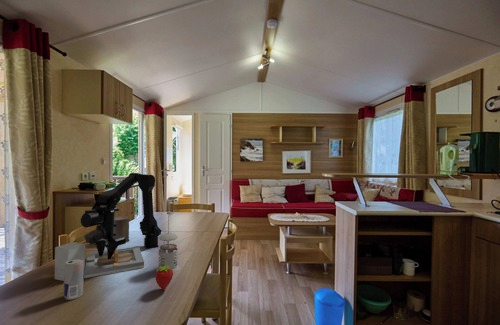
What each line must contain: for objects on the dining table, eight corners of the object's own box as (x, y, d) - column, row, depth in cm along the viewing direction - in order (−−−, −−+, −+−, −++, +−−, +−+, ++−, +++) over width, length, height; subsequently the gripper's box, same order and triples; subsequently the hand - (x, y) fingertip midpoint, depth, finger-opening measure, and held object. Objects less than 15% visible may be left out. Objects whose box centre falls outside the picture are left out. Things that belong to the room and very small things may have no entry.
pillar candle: (132, 239, 149) (132, 214, 149) (122, 244, 139) (122, 217, 140) (117, 238, 150) (117, 213, 150) (106, 243, 140) (106, 217, 140)
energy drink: (70, 292, 88) (71, 258, 88) (86, 291, 88) (86, 258, 88) (60, 300, 83) (60, 264, 83) (77, 300, 83) (77, 264, 83)
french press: (157, 275, 102) (158, 214, 102) (154, 264, 113) (155, 209, 113) (181, 270, 107) (182, 212, 107) (176, 261, 117) (177, 207, 117)
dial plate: (138, 251, 129) (138, 246, 129) (144, 267, 110) (144, 260, 110) (88, 259, 118) (88, 253, 118) (84, 278, 99) (84, 270, 99)
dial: (96, 258, 116) (96, 247, 116) (129, 252, 123) (130, 242, 123) (97, 269, 104) (97, 256, 104) (134, 262, 112) (134, 250, 112)
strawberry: (175, 285, 94) (176, 258, 94) (168, 295, 87) (169, 266, 87) (160, 284, 95) (160, 258, 95) (151, 295, 87) (152, 266, 87)
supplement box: (85, 274, 102) (86, 243, 102) (67, 282, 95) (67, 249, 95) (72, 271, 104) (73, 241, 104) (53, 279, 97) (54, 246, 97)
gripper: (74, 222, 107) (72, 259, 107) (103, 229, 99) (100, 269, 99) (100, 218, 117) (98, 251, 117) (127, 224, 109) (125, 260, 109)
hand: (104, 257), depth 110 cm, fingers open, 5 cm apart
